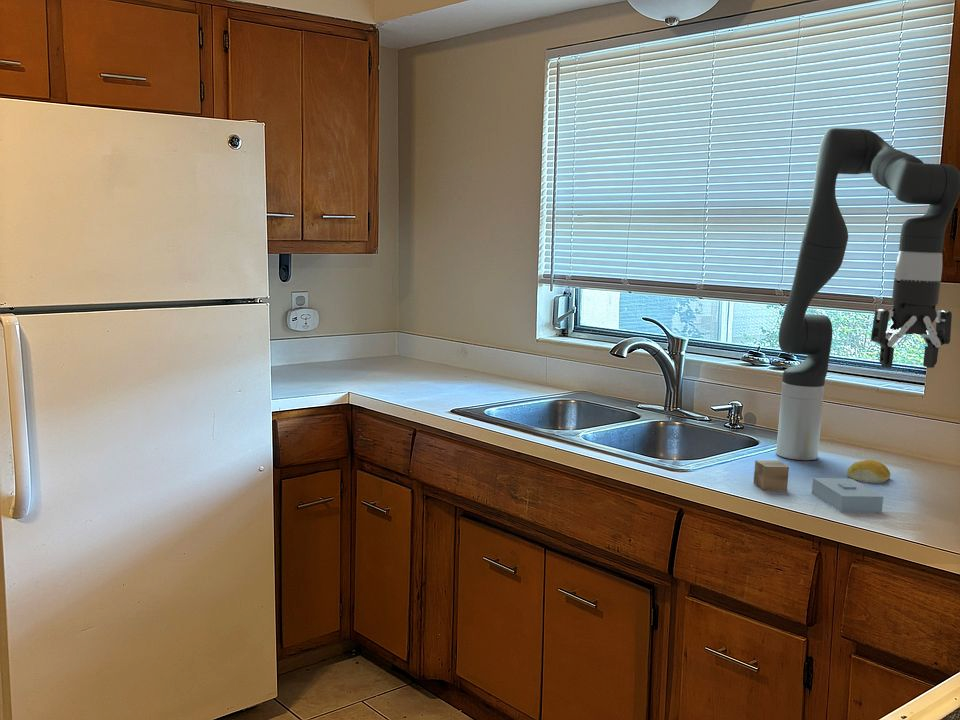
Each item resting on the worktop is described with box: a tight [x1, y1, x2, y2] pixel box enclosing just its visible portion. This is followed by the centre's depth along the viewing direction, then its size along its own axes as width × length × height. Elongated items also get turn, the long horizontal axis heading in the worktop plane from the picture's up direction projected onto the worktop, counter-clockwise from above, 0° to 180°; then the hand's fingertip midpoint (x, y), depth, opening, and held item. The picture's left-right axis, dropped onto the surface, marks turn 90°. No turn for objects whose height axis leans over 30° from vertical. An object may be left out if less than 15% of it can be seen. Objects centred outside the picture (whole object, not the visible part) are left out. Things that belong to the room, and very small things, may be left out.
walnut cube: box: [753, 459, 790, 492], centre depth 181 cm, size 5×5×5 cm
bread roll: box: [846, 459, 891, 484], centre depth 192 cm, size 8×9×4 cm
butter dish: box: [811, 477, 884, 513], centre depth 172 cm, size 12×8×4 cm, turn 5°
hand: (907, 367), depth 162 cm, fingers open, 8 cm apart
